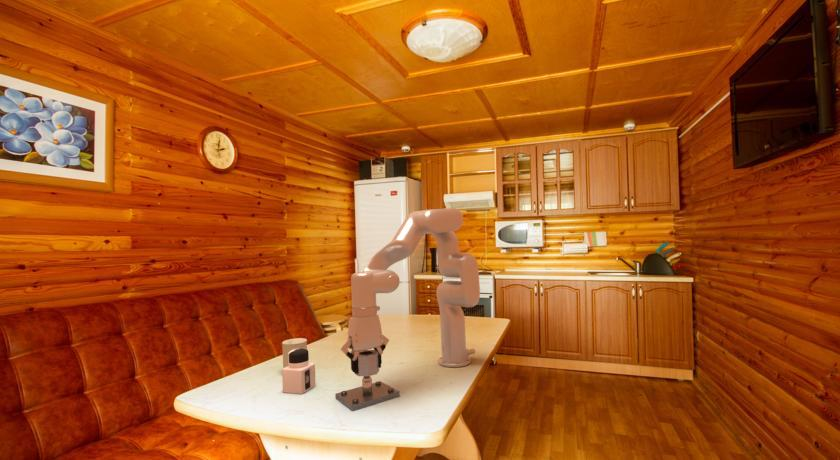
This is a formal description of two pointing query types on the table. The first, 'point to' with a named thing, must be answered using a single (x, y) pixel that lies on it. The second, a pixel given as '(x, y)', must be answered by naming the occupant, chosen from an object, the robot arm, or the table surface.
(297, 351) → the container
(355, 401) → the shaft block
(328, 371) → the table surface
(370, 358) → the hub ring
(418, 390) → the table surface
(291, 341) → the can
